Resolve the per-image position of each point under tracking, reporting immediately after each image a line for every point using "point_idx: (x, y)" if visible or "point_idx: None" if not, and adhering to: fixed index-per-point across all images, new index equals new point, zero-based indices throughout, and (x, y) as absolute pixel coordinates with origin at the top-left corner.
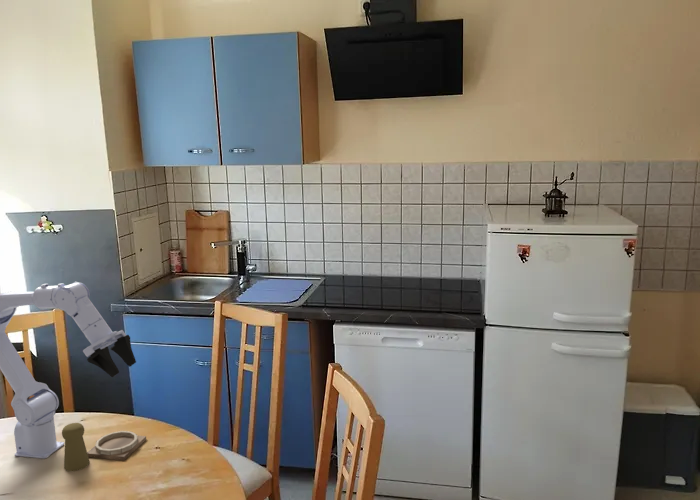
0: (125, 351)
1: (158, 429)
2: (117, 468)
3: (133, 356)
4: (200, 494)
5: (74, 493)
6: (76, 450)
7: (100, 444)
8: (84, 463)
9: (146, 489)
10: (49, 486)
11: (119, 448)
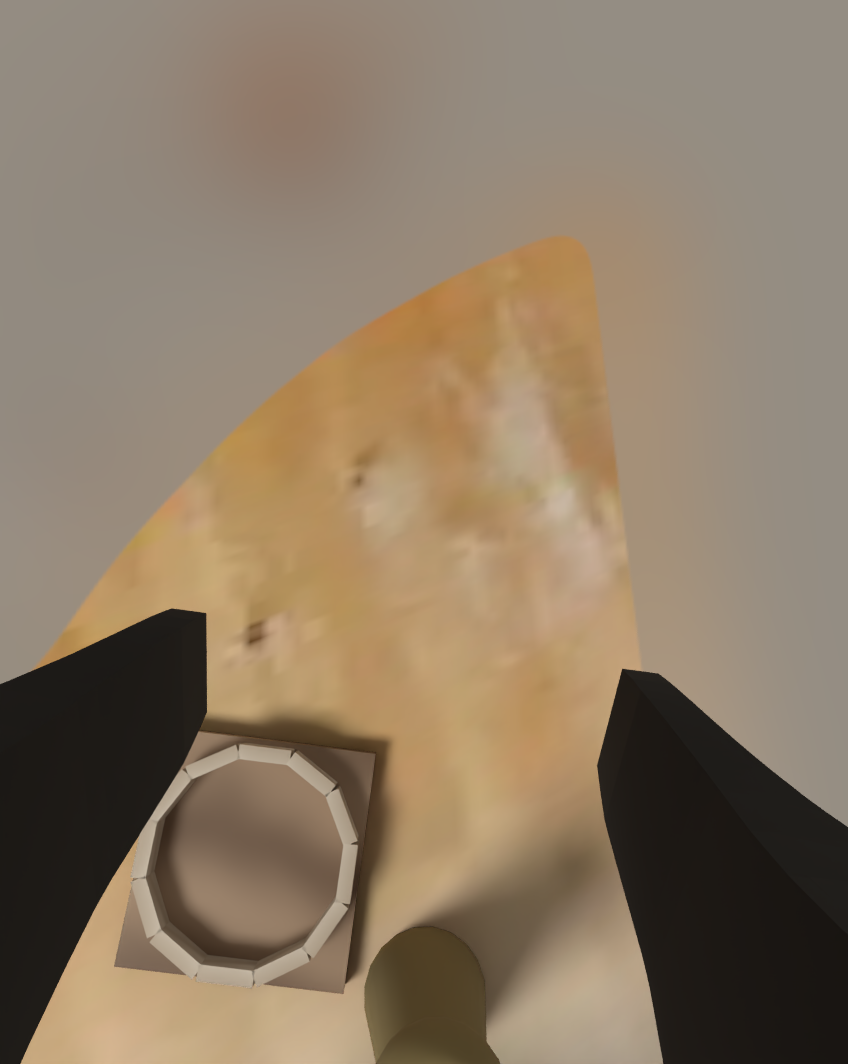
0: (62, 804)
1: None
2: (447, 753)
3: (132, 637)
4: (601, 344)
5: None
6: (474, 1007)
7: (247, 958)
8: (446, 941)
9: (593, 551)
10: (620, 1028)
11: (334, 799)
